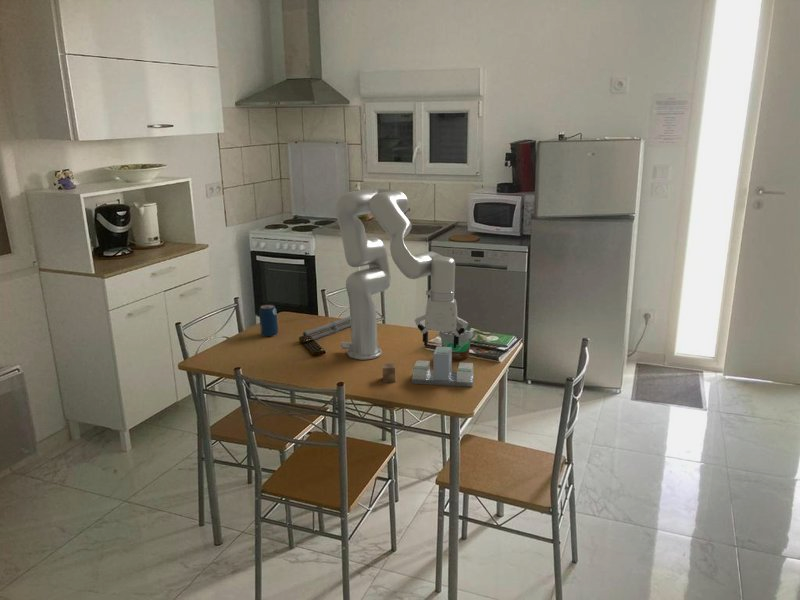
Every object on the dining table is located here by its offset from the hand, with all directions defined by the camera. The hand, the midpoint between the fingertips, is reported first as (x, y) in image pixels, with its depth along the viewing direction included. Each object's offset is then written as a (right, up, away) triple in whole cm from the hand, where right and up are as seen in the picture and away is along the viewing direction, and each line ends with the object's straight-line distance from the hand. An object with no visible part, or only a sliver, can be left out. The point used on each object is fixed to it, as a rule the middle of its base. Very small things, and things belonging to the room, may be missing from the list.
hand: (440, 345), depth 215 cm
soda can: (-66, +1, +52) cm, 84 cm away
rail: (+1, -12, +3) cm, 12 cm away
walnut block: (-17, -12, +4) cm, 21 cm away
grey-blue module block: (+1, -10, +2) cm, 11 cm away
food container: (+7, -7, +21) cm, 23 cm away
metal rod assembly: (-42, +1, +50) cm, 65 cm away
